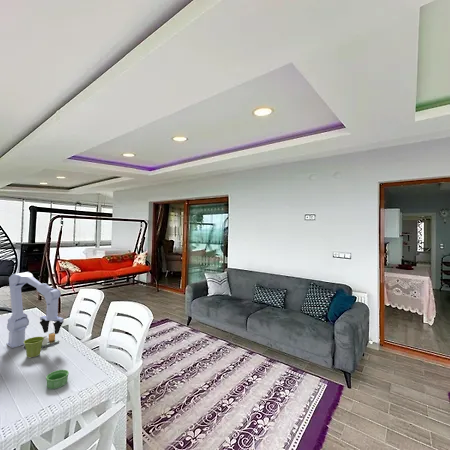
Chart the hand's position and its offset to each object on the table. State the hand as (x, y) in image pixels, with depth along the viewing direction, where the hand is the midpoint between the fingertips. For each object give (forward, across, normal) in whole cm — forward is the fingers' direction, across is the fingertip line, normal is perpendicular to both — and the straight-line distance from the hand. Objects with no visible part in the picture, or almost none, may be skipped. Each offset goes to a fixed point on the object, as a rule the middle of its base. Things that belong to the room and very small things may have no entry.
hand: (51, 332), depth 157 cm
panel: (+10, -10, +3) cm, 14 cm away
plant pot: (+10, -3, -9) cm, 13 cm away
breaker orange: (+8, -7, +8) cm, 13 cm away
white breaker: (+8, -7, +2) cm, 11 cm away
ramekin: (+10, +32, -29) cm, 44 cm away
